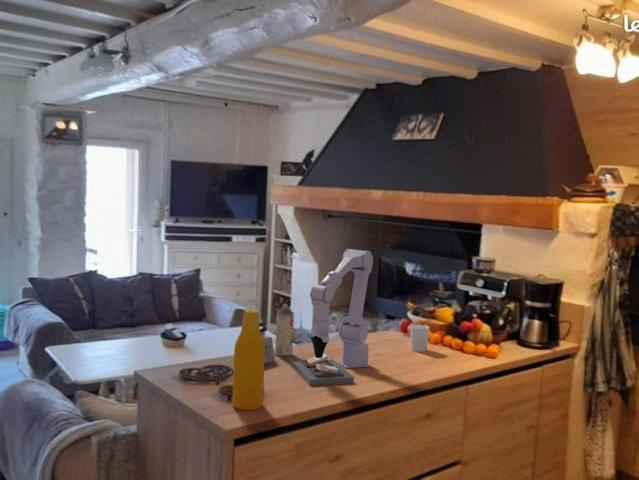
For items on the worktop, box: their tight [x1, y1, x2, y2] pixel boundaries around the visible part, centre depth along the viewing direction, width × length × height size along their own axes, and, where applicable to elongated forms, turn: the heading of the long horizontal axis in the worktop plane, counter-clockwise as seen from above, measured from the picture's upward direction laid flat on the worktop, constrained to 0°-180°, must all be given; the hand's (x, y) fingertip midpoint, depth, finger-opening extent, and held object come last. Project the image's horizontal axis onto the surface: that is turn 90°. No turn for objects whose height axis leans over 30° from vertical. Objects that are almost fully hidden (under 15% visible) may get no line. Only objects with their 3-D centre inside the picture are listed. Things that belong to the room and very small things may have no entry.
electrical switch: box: [262, 336, 276, 365], centre depth 225 cm, size 9×5×9 cm, turn 141°
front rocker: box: [316, 364, 339, 373], centre depth 208 cm, size 7×4×2 cm, turn 108°
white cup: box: [410, 324, 430, 353], centre depth 253 cm, size 8×8×10 cm
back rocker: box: [306, 353, 329, 365], centre depth 219 cm, size 7×4×2 cm, turn 108°
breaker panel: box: [291, 358, 355, 386], centre depth 214 cm, size 16×22×4 cm
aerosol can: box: [274, 304, 295, 358], centre depth 236 cm, size 7×7×20 cm
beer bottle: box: [231, 309, 265, 411], centre depth 179 cm, size 9×9×29 cm
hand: (318, 357), depth 208 cm, fingers closed
